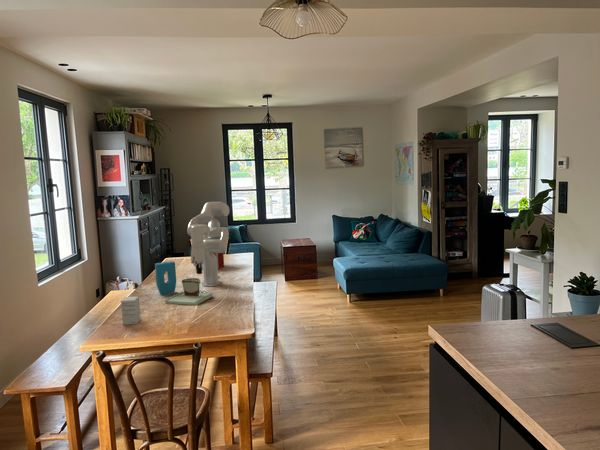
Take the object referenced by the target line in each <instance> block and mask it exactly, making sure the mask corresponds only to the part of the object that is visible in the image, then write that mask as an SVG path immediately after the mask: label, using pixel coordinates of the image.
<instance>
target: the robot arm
mask: <svg viewBox="0 0 600 450" xmlns="http://www.w3.org/2000/svg"><path fill="white" fill-rule="evenodd" d="M229 214H230V207H229V205H228V204H227V203H225V202H224V201H207V202H206V203H205V204H204V205H203V208H202V209H201V211H200V214H198V215H196V216H195V217H193V218H192V219H190V221H189V223H188V225H187V228H186V229H187V231H186V232H187V234H188V235H189V236H190V237H191V238H190V240H191V251H190V262H191V264H193V266H194V267H195V266H196V267H195V271H196V272H195V273H196V275H202V274H203V282H202V283H201V285H202V287H216V286H219V285H221V281H220V280H219V279H221V276H220V275H219V272H218V270H219V268H217V258H216V256H215V255H214V254H213V253H225V252H226V250H227V247H228V241H229V235H230V233H229V229H228V228H227V227H226V226H221V223H220V221H219V219H217V218H216V217H219V218H220V217H227V216H229ZM203 236H206V239H205V240H204V238H203ZM202 264H203V269H204V270H202Z"/></svg>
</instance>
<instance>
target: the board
mask: <svg viewBox="0 0 600 450" xmlns="http://www.w3.org/2000/svg"><path fill="white" fill-rule="evenodd" d="M199 295H200V296H198V297H197V296H184V291H181V292H179V293H177V294H174V295H171V296H170V297H167V298H166V299H165V300H164V303H165V304H170V305H172V304H173V305H186V306H187V305H190V306H198V305H200V304H201V303H203V302H204V301H207V300H208V299H210V298H212V297H213V293H212V292H210V293H202V292H199Z"/></svg>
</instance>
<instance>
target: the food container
mask: <svg viewBox="0 0 600 450" xmlns="http://www.w3.org/2000/svg"><path fill="white" fill-rule="evenodd" d="M181 284H182V289H183V292H184V296H197V297H198V296H199V293H200V285H201V284H202V283H201V280H200V278H198V277H197V278H196V277H189V278H183V279H181Z"/></svg>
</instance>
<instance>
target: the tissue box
mask: <svg viewBox="0 0 600 450" xmlns="http://www.w3.org/2000/svg"><path fill="white" fill-rule="evenodd" d="M203 238H204V240H205V239H206V236H203ZM224 253H225V252H223V253H213V254H214V255H215V256H216V258H217V268H218V269H221V268H224V267H225V257H224V255H225V254H224ZM194 267H195V268H196V266H194ZM202 271H204V269H203V264H202Z"/></svg>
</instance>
